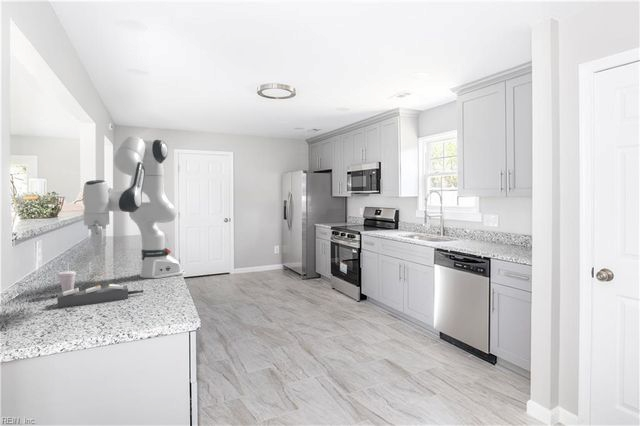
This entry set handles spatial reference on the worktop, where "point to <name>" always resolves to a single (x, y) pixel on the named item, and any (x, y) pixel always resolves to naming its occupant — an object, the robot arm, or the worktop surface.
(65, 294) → the block
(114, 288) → the plate
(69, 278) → the smoothie
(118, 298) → the power strip
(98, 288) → the rocker
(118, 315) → the worktop surface
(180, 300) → the worktop surface
